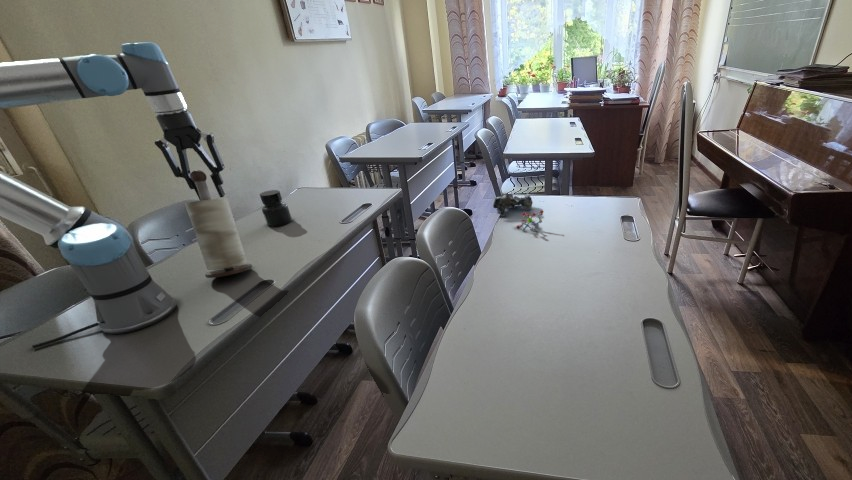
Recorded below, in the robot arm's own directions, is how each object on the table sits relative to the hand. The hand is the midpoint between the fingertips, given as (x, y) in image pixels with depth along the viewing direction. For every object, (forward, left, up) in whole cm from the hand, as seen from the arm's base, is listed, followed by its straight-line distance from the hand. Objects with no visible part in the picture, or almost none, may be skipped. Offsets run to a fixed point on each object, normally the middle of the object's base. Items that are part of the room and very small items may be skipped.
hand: (212, 197), depth 116 cm
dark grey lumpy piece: (+94, +4, -22) cm, 97 cm away
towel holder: (0, 0, -7) cm, 7 cm away
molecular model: (+94, -14, -22) cm, 97 cm away
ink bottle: (+8, +33, -22) cm, 40 cm away
